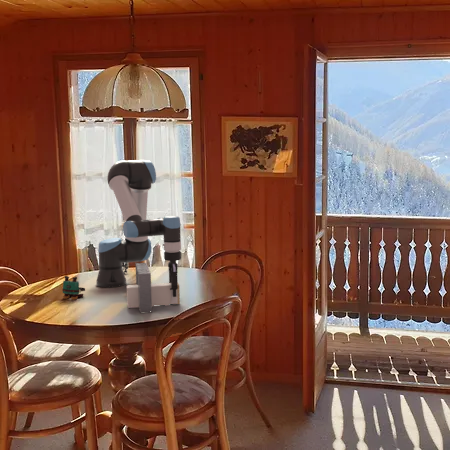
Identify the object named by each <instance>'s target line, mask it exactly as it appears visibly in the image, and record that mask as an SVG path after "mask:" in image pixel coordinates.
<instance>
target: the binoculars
mask: <svg viewBox="0 0 450 450" xmlns="http://www.w3.org/2000/svg"><path fill="white" fill-rule="evenodd" d="M71 278H72V281H71V280H70V276H68V275H64V280H63V281H62V294H63V297H62V298H63V300H64V299H66V300H67V299H70V298H71V300H73V301H74V300H77V299H78V298H81V297H84V293H81V292H85V291H86V288H85V287H80V282H79V281H77V279H78V276H75V277H71Z"/></svg>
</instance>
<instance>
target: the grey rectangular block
mask: <svg viewBox="0 0 450 450" xmlns="http://www.w3.org/2000/svg"><path fill="white" fill-rule="evenodd" d="M170 288H171V283H169V282H164V283H163V282H161V283H151V299H152V307H155V306H154V305H165V306H170V305H169V304H171V290H170ZM180 293H181V292H180V284H179V282H178V289H177V298H178V304H181V303H180V302H181V300H180V299H181V298H180V296H181V295H180ZM126 303H127V304H126V305H127V309H129V308H132V309H133V308H139V297H138V285H136V284H130V285H129V284H128V285H126Z"/></svg>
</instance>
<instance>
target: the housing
mask: <svg viewBox="0 0 450 450" xmlns="http://www.w3.org/2000/svg"><path fill="white" fill-rule="evenodd" d="M151 274H152V273H151V271H150V269H149V266H148V264H147V262H135V285H138V297H139V307H138V310H139V314H142V313H141V312H148V313H151V312H150V311H152V312H153V306H152V299H151V284H152V275H151Z"/></svg>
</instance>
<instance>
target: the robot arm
mask: <svg viewBox="0 0 450 450" xmlns="http://www.w3.org/2000/svg"><path fill="white" fill-rule="evenodd" d="M156 171H157V170H156V168H155V165H154V164H153V162H152V161H150V160H148V159H147V160H146V159H139V160H137V159H135V160H119V161H117V162H115V163H114V164H113V165H112V166H111V167H110V168H109V170H108V173H107V185H108V187H109V189H110V190H112V191H113V194H114V196H115V198H116V200H117V201H116V202H117V204H118V207H119V208H120V211H121V214H122V217H123V219H124V222H123V225H122V229H123V235H124V236H125V239H123V240H122V238H121V237H110V238H105V239H103V240H101V241H99V242H98V250H97V251H98V267H99V268H98V269H99V270H98V273H97V277H96V282H95V283H96V284H95V285H96V286H97V287H99V288H101V287H102V288H117V287H122V286H123V287H124V286H126V284H127V278H126V277H125V274H124V270H123V269H122V265H123V264H122V263H124V264H128V263H142V262H145V261H148V259H149V258H150V257H151V253H152V242H151V240H150V238H149V237H155V236H156V237H157V236H163V243H162V247H163V250H164V252H163V260H164V261H168V263H167V267H168V283H171V288H170V290H171V304H178V298H177V289H178V283H179V282H178V267H179V265H178V263H177V261H180V260H181V259H182V251H181V250H182V241H181V239H182V238H181V227H182V226H181V225H182V224H181V218H180V216H178V215H165V216H164V217H157V218H154V219H147V212H148V209H147V208H148V197H149V191H150V190H151V189H152V185H153V184H156V181H157V172H156Z"/></svg>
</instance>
